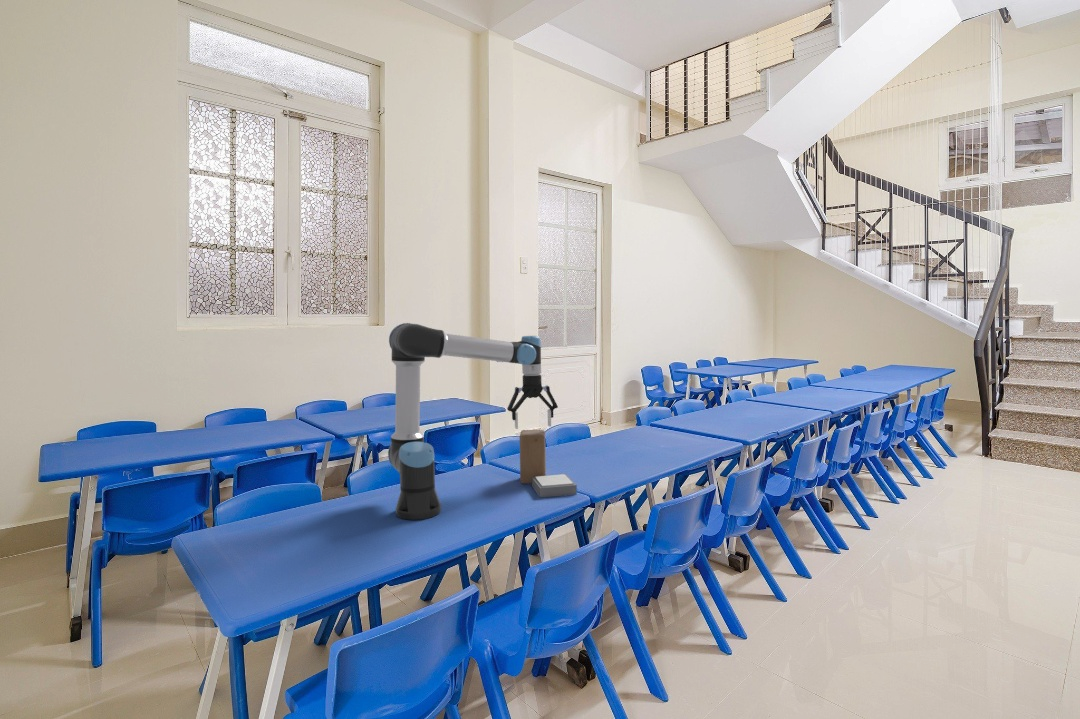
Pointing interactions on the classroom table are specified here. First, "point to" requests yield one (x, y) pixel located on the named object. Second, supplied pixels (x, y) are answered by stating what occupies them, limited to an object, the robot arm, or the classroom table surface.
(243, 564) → the classroom table surface
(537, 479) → the base
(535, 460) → the wooden block
